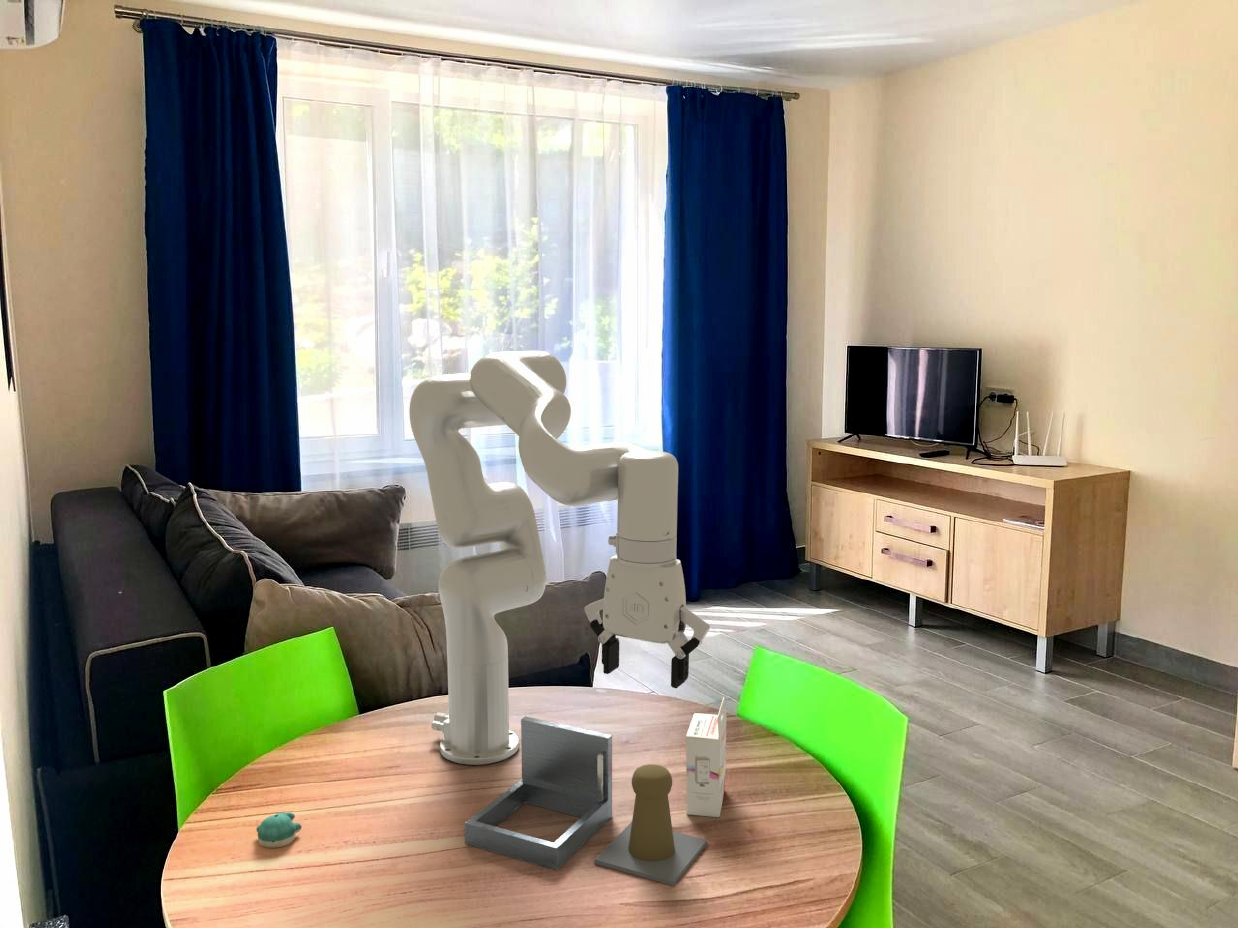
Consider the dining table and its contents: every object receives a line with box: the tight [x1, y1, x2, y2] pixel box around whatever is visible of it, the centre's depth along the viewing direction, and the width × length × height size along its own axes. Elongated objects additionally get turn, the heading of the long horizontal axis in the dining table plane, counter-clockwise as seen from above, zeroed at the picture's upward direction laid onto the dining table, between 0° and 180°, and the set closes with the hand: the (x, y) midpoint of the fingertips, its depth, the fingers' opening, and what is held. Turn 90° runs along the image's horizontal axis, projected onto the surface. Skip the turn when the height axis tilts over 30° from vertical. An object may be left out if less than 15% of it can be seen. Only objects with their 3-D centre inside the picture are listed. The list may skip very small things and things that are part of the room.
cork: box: [628, 763, 675, 862], centre depth 129 cm, size 6×6×11 cm
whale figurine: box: [255, 811, 302, 849], centre depth 134 cm, size 6×7×4 cm
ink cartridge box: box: [685, 696, 727, 818], centre depth 143 cm, size 9×5×15 cm, turn 168°
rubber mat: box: [594, 821, 708, 887], centre depth 130 cm, size 11×11×1 cm
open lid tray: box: [464, 716, 613, 871], centre depth 135 cm, size 14×15×12 cm
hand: (644, 677), depth 130 cm, fingers open, 9 cm apart
